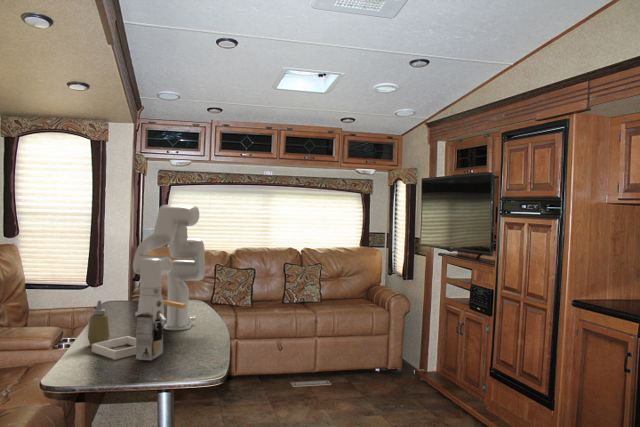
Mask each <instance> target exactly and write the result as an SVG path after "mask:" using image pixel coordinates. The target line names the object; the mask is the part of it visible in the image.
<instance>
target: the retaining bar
mask: <svg viewBox="0 0 640 427" xmlns="http://www.w3.org/2000/svg"><path fill="white" fill-rule="evenodd" d="M163 303H164V306H166V307H167V306H172V307H177V308H181V309H182V308H186V304H183V303H179V302H174V301H169V300H168V299H164V298H163Z"/></svg>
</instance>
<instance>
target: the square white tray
mask: <svg viewBox="0 0 640 427" xmlns="http://www.w3.org/2000/svg"><path fill="white" fill-rule="evenodd" d="M125 345H130V346H129V347H126V348H122V349H118V350H115V349H112V348H116V347H117V348H118V347H121V346H125ZM91 352H92V353H95V354H97V355H101V356H104V357H106V358H108V359H109V358H110V359H112V360H115V361H116V360H120V359H123V358H127V357H131V356H134V355H135V356H136V337H133V336H129V335H127V336H123V337H117V338H113V339H108V341H103V342H98V343H94V344H92V346H91Z"/></svg>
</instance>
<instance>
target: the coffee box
mask: <svg viewBox="0 0 640 427" xmlns="http://www.w3.org/2000/svg"><path fill="white" fill-rule="evenodd" d="M156 321H158V320H157V319H156V320H155V322H156ZM135 325H136V326H135V338H136V354H135V359H136V360H139V361H140V360H141V361H153V360H154V359H156V358H157V357H159V356H160V355H162V354H163V353H164V328H163V329H162V339H161V340H159V341H153V338H154V330H155V329H154V323H153V316H149V315H145V314H139V315H137V316H135ZM157 326H158V324H157Z"/></svg>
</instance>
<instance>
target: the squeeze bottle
mask: <svg viewBox="0 0 640 427" xmlns="http://www.w3.org/2000/svg"><path fill="white" fill-rule="evenodd" d="M106 312H107V311H106V308H103V303H102V300H97V303H96V307H95V308H94V309H93V310H92V315H91V316H90V317H89V323H88V325H89V326H88V330H87V332H88V333H87V339H88V341H89V344H90V346H91V347H92V344H94V343H98V342H103V341H108V340H110V339H109V338H110V327H109V316H108V314H106Z"/></svg>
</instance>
